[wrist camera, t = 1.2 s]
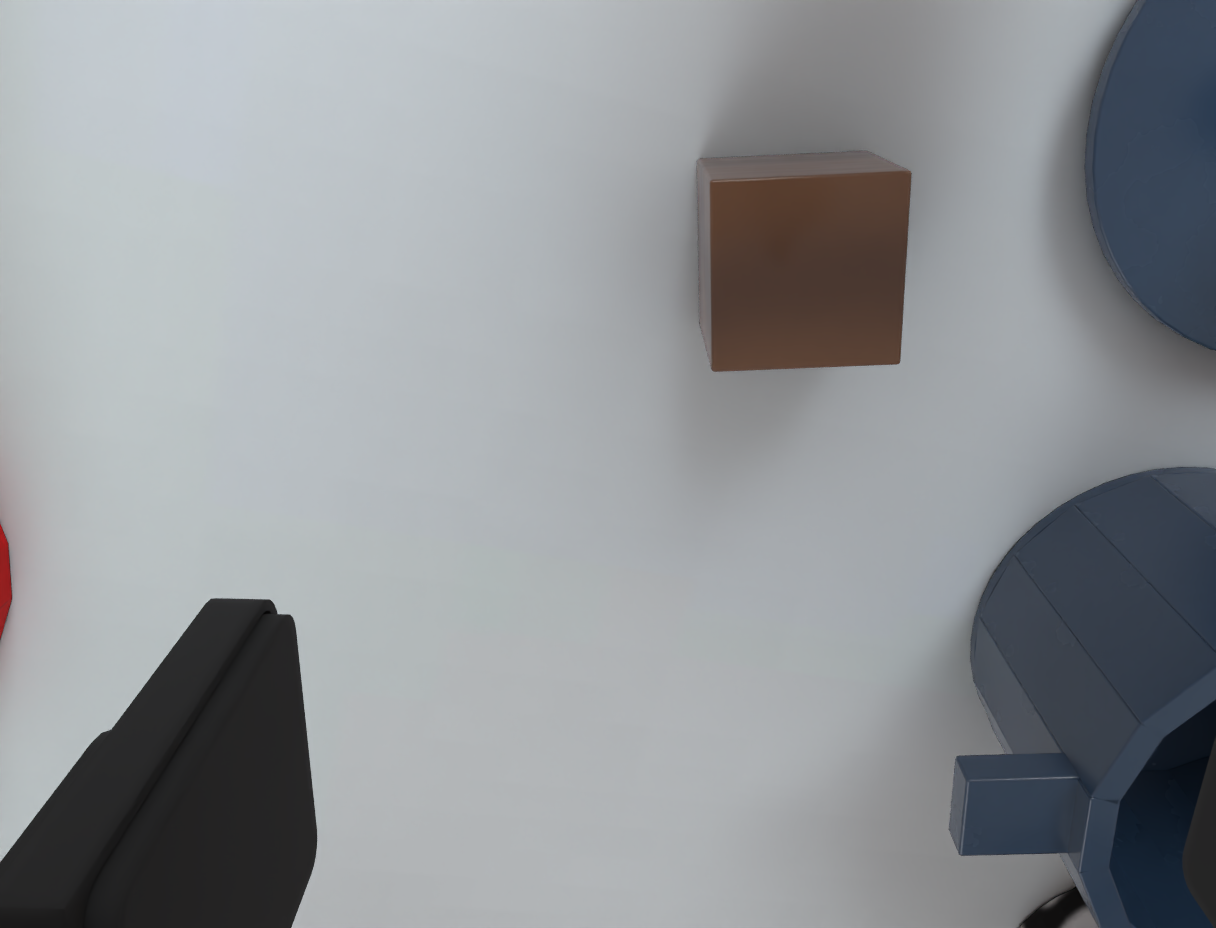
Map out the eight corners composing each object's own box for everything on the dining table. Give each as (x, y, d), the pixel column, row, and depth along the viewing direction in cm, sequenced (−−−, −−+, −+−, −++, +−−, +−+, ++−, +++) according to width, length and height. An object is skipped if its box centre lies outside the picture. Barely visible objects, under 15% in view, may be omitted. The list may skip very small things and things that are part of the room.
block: (696, 158, 28) (709, 179, 24) (868, 150, 28) (912, 170, 24) (699, 324, 30) (711, 372, 26) (861, 318, 30) (900, 364, 25)
